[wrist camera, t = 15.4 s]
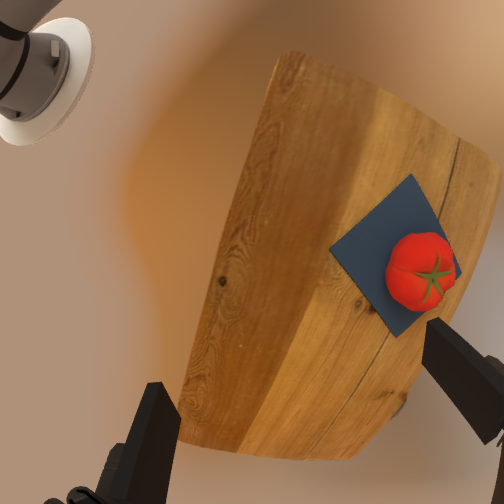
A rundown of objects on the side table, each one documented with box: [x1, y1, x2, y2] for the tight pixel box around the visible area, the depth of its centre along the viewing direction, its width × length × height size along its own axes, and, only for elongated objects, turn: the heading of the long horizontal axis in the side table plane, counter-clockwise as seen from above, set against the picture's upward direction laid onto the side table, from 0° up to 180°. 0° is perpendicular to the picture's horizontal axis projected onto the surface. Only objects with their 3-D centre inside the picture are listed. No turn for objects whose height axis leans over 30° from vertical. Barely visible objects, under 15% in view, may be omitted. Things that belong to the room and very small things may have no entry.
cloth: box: [329, 174, 462, 338], centre depth 37 cm, size 20×16×1 cm
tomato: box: [385, 232, 456, 311], centre depth 33 cm, size 11×11×8 cm
